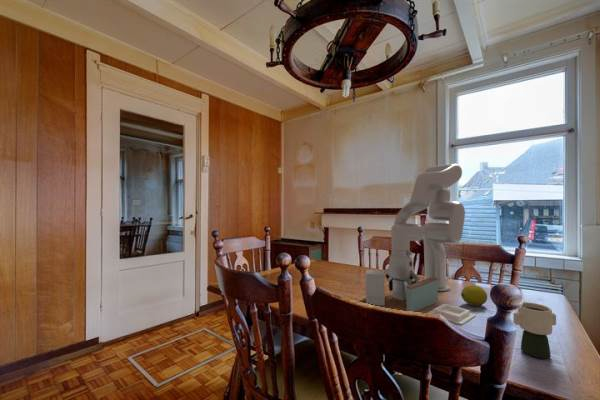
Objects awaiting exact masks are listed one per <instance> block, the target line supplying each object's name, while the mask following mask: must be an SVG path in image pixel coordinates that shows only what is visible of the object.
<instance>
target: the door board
mask: <svg viewBox="0 0 600 400" xmlns="http://www.w3.org/2000/svg"><path fill="white" fill-rule="evenodd" d="M437 280H438V278H435V277H431V278H428V279H425V278H424V279H423V280H419V281H418V282H416V283H414V284H411V285H408V286H406V299H407V300H406V312H407V311H415V312H418V311H421V310H422V309H425V308H427V307H428V306H431V305H433V304H435V303H437V302H439V300H438V299H439V297H438V296H439V294H438V293H439V291H438V282H437ZM415 312H414V313H415Z"/></svg>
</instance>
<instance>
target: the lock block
mask: <svg viewBox="0 0 600 400" xmlns="http://www.w3.org/2000/svg"><path fill="white" fill-rule="evenodd" d="M406 286H408V283H407V282H406V281H403V280H399V279H393V290H392V298H393V299H395V300H396V299H397V300H399V301H407V299H406Z"/></svg>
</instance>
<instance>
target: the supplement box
mask: <svg viewBox="0 0 600 400" xmlns="http://www.w3.org/2000/svg"><path fill="white" fill-rule="evenodd" d="M385 297H386V295H385V273H384V270H376V269H375V270H373V269H366V270H365V301H366V304H367V303H369V304H373V305H372V306H385V305H386V304H385V303H386V302H385V301H386V299H385Z"/></svg>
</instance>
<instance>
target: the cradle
mask: <svg viewBox="0 0 600 400" xmlns="http://www.w3.org/2000/svg"><path fill="white" fill-rule="evenodd" d="M430 312H432V314H441V315H442V316H444V317H445V318H446V319H447V320H448V321H447V320H446V321H447V322H450V323H454V324H457V325H459V326H464V325H465V324H467V323H468V322H469V321H471V320H473V319H474V318H475V317H477V314H474V313H471V310H470V309H466V308H462V307H459V306H456V305H452V304H447V303H443V304H441V305H439V306H437V307H434V308H433V309H432V310H431V311H428V312H427V313H430Z"/></svg>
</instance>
